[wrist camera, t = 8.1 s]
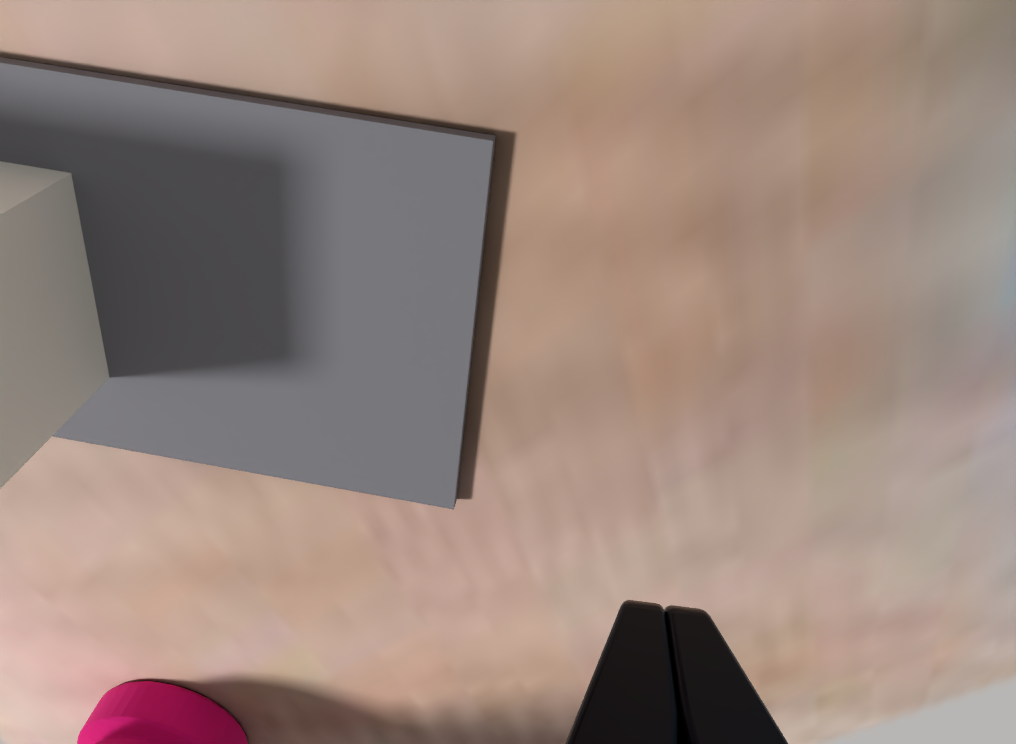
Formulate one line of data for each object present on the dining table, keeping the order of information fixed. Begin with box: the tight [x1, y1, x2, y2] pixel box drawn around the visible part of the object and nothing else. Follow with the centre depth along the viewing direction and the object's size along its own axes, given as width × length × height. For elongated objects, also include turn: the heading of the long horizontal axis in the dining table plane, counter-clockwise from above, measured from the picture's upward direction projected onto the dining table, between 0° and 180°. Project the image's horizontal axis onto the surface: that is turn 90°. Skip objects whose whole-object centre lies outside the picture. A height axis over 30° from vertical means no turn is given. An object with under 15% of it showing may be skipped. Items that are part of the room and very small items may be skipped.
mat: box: [0, 57, 496, 509], centre depth 22 cm, size 19×11×1 cm, turn 83°
